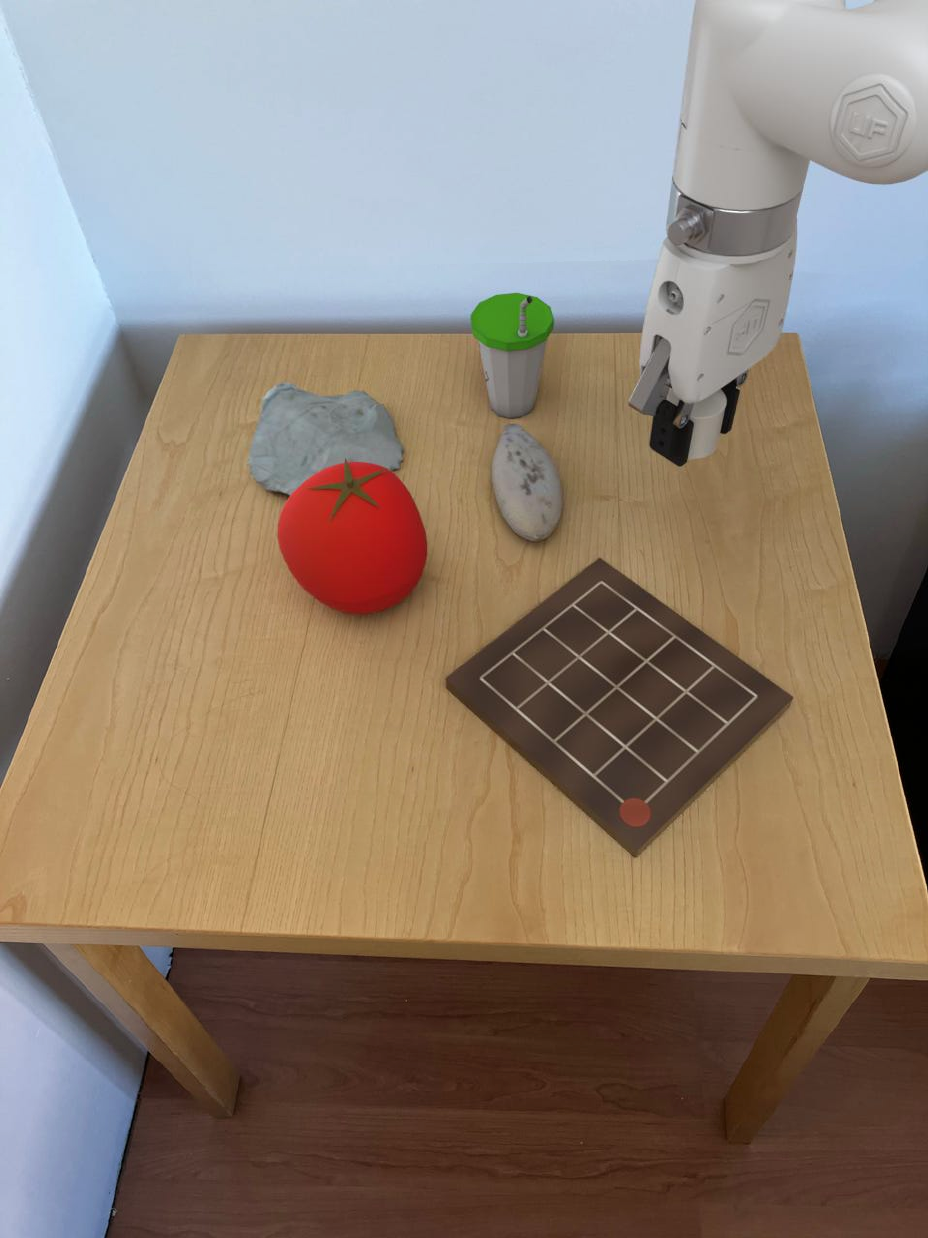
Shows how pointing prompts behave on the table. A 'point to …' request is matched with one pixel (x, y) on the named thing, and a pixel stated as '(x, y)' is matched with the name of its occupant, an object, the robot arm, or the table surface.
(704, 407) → the white canister
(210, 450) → the table surface
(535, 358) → the cup
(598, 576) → the board
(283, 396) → the stone
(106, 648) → the table surface
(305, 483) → the tomato
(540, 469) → the decorative stone
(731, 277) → the robot arm
